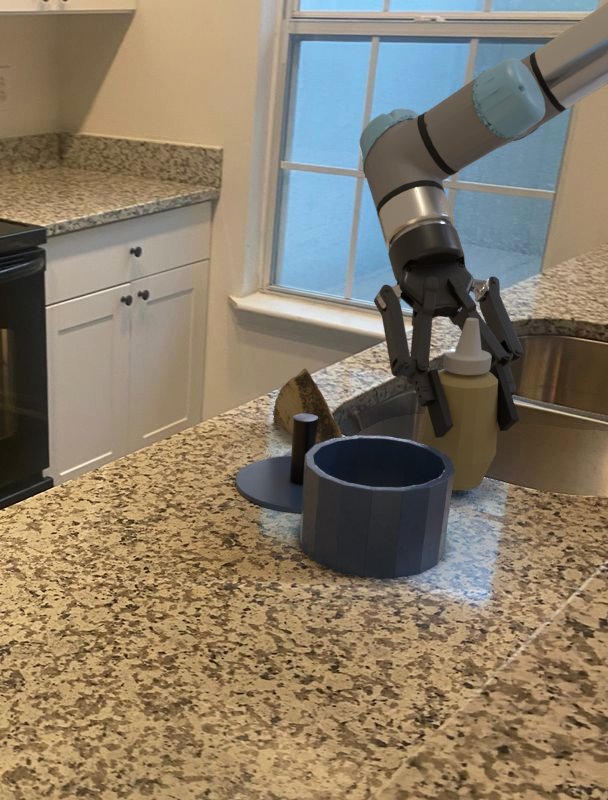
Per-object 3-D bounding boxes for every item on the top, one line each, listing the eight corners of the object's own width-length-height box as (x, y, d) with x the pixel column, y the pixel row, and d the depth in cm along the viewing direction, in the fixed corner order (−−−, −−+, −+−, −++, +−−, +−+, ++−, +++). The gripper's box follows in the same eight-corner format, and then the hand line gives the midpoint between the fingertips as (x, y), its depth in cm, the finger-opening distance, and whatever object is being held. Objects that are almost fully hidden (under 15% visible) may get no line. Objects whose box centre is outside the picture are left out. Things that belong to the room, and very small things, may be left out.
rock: (251, 406, 134) (256, 422, 124) (293, 353, 131) (302, 366, 122) (316, 455, 135) (326, 475, 125) (359, 403, 132) (373, 420, 123)
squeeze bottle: (412, 492, 110) (430, 327, 102) (415, 464, 117) (431, 308, 109) (493, 499, 107) (517, 331, 100) (490, 470, 114) (512, 310, 107)
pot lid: (360, 466, 120) (367, 396, 117) (375, 520, 107) (382, 443, 104) (235, 463, 122) (237, 394, 119) (235, 516, 109) (237, 440, 106)
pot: (429, 521, 107) (439, 436, 103) (453, 586, 95) (466, 492, 91) (296, 518, 109) (301, 434, 104) (303, 580, 96) (309, 488, 92)
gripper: (487, 253, 118) (546, 435, 111) (327, 265, 116) (375, 452, 108) (519, 213, 111) (583, 404, 104) (348, 225, 109) (401, 421, 101)
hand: (477, 428), depth 106 cm, fingers closed on squeeze bottle, 6 cm apart
